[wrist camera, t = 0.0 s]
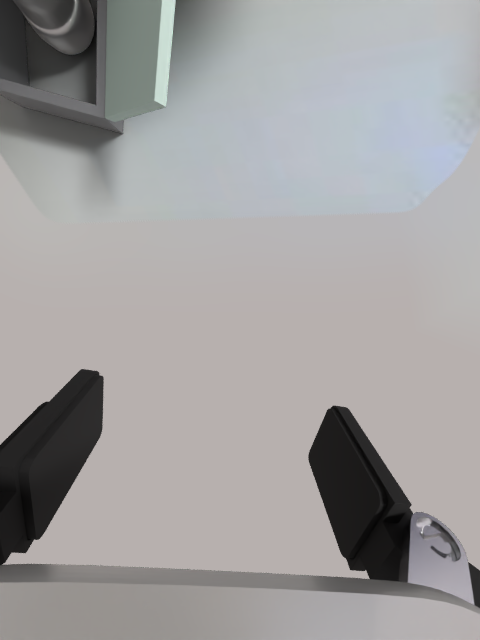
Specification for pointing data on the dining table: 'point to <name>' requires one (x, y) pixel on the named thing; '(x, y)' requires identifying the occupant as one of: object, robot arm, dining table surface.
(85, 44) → the plastic bottle
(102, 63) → the grey open box
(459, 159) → the dining table surface
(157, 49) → the cover
